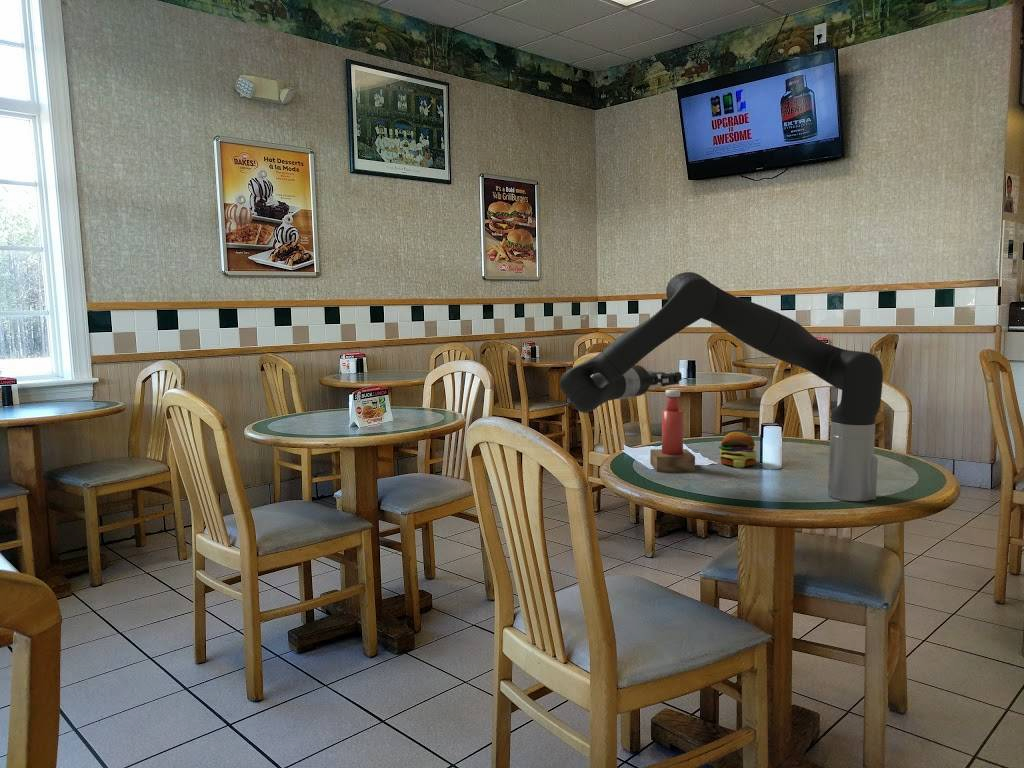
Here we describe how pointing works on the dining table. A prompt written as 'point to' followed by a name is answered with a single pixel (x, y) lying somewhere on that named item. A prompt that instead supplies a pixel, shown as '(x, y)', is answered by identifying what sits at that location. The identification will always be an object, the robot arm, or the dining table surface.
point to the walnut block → (672, 461)
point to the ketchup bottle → (672, 425)
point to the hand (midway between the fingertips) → (665, 375)
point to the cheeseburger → (737, 450)
